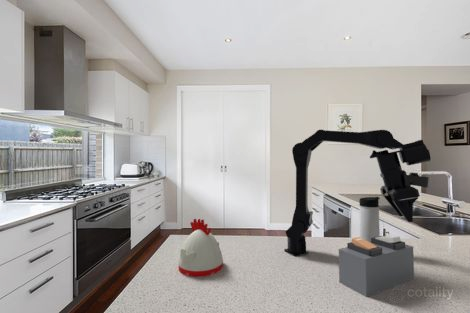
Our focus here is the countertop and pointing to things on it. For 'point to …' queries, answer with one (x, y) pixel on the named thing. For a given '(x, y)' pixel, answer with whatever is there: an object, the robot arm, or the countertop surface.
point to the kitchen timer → (200, 252)
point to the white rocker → (389, 239)
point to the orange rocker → (363, 243)
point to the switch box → (375, 266)
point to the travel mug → (369, 217)
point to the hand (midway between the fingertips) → (405, 218)
